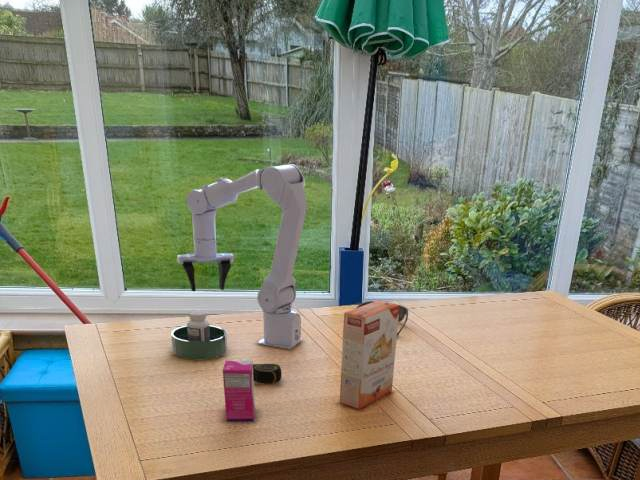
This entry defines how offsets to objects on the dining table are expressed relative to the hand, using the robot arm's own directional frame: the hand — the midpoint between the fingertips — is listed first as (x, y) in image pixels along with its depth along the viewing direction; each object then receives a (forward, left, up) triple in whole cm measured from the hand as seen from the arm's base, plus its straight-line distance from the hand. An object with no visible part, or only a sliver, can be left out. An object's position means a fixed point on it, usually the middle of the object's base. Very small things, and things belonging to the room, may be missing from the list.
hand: (207, 289), depth 197 cm
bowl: (-8, +19, -10) cm, 23 cm away
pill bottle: (-8, +19, -10) cm, 23 cm away
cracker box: (-56, +28, -11) cm, 64 cm away
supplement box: (-35, +49, -11) cm, 61 cm away
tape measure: (-31, +29, -11) cm, 44 cm away
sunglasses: (-42, -23, -11) cm, 49 cm away
